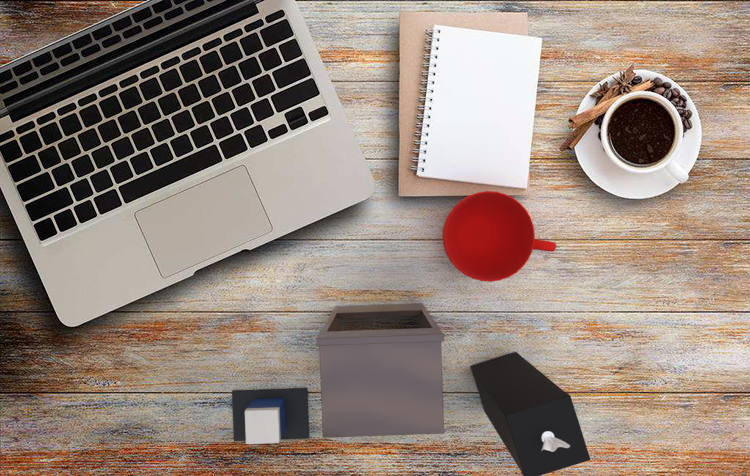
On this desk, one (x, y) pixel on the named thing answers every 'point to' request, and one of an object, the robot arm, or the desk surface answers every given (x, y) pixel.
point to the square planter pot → (381, 375)
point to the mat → (293, 410)
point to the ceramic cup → (490, 236)
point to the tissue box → (530, 415)
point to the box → (265, 421)
